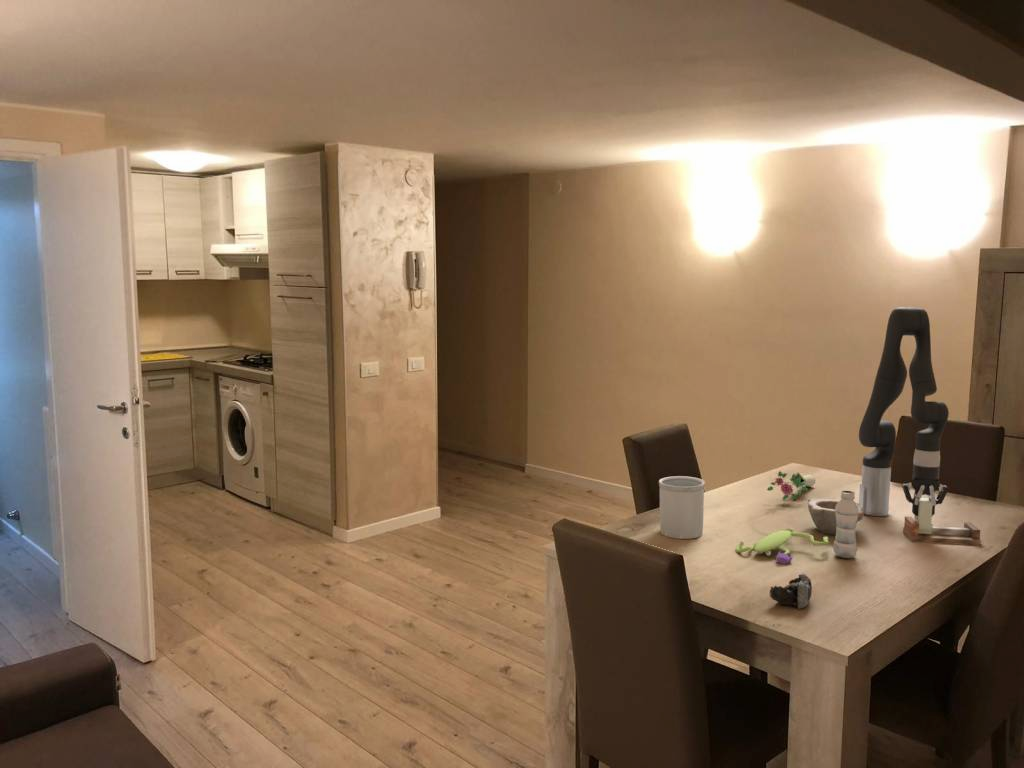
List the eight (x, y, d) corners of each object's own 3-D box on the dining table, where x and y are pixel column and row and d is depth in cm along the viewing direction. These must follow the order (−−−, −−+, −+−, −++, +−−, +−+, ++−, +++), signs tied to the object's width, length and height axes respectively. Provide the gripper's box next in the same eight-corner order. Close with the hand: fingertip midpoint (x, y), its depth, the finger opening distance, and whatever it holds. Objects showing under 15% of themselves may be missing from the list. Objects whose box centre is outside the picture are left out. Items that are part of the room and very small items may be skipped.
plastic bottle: (846, 562, 237) (849, 496, 234) (827, 555, 243) (831, 490, 240) (861, 558, 240) (865, 493, 237) (842, 551, 246) (846, 488, 243)
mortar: (859, 526, 271) (860, 499, 270) (863, 541, 256) (865, 513, 254) (806, 521, 277) (807, 495, 276) (807, 536, 261) (808, 508, 260)
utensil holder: (649, 533, 265) (650, 481, 262) (673, 523, 275) (674, 473, 273) (688, 543, 255) (689, 489, 252) (712, 532, 265) (713, 480, 263)
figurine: (837, 554, 245) (838, 536, 244) (775, 569, 232) (775, 551, 232) (789, 537, 261) (790, 520, 260) (728, 551, 248) (729, 533, 248)
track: (911, 541, 255) (912, 524, 255) (902, 531, 265) (903, 515, 264) (980, 545, 252) (981, 528, 251) (968, 535, 261) (970, 518, 261)
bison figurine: (810, 596, 212) (771, 589, 216) (813, 571, 211) (773, 564, 215) (810, 614, 201) (768, 607, 205) (812, 588, 200) (770, 581, 204)
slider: (918, 534, 256) (920, 502, 255) (912, 527, 263) (914, 496, 262) (932, 534, 255) (934, 503, 254) (925, 528, 262) (927, 497, 261)
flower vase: (815, 507, 321) (793, 508, 291) (786, 493, 327) (762, 493, 298) (827, 480, 319) (806, 478, 290) (797, 467, 326) (775, 464, 297)
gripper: (905, 465, 254) (902, 518, 256) (954, 467, 251) (951, 520, 253) (899, 460, 261) (896, 511, 263) (946, 461, 259) (943, 513, 261)
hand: (923, 515), depth 258 cm, fingers closed on slider, 3 cm apart
